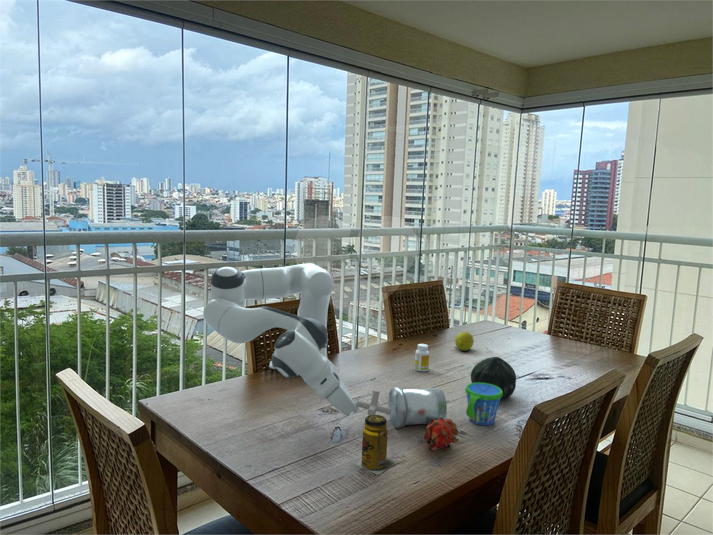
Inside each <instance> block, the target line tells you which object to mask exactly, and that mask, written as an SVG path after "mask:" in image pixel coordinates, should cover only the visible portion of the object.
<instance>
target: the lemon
mask: <svg viewBox="0 0 713 535" xmlns="http://www.w3.org/2000/svg"><path fill="white" fill-rule="evenodd" d="M454 343H455V346H456V348H458V349H459V350H460V351H464V352H465V351H469V350H471V349H472V348H473V345H474V338H473V335H472V334H471V333H469V332H468V331H467V332H466V331H464V332H460V333H458V334H457V335H456V337H455V340H454Z"/></svg>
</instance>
